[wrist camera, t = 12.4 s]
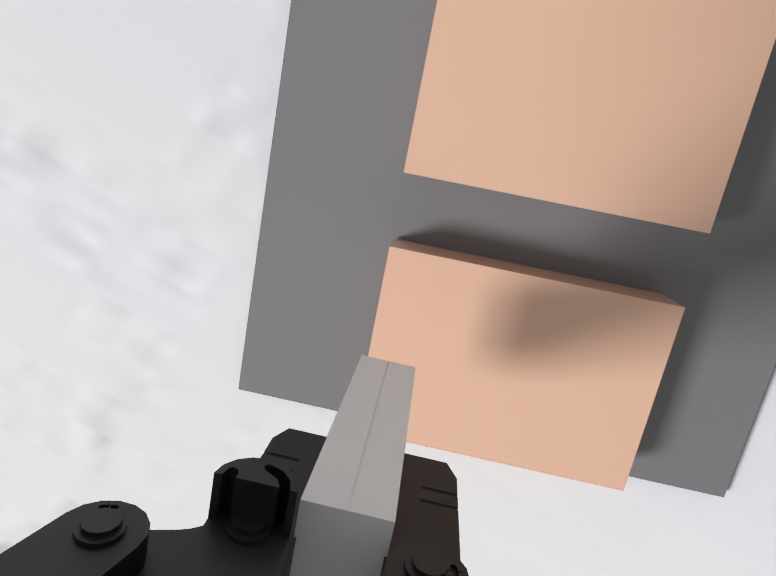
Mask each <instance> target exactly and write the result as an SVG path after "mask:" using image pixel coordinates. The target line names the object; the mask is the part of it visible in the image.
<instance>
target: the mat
mask: <svg viewBox="0 0 776 576" xmlns="http://www.w3.org/2000/svg"><path fill="white" fill-rule="evenodd" d="M436 4H437V0H291V7H290V15H289V22H288V29H287V37H286V44H285V51H284V59H283V66H282V73H281V81H280V88H279V95H278V103H277V110H276V117H275V125H274V132H273V139H272V147H271V154H270V161H269V169H268V176H267V183H266V191H265V198H264V205H263V213H262V220H261V228H260V235H259V242H258V250H257V257H256V264H255V272H254V279H253V286H252V294H251V301H250V308H249V316H248V323H247V330H246V338H245V345H244V352H243V360H242V367H241V374H240V382H239V389H241V390H246V391H250V392H254V393H259V394H263V395H268V396H272V397H277V398H281V399H286V400H290V401H295V402H299V403H304V404H308V405H313V406H317V407H322V408H326V409H331V410H335V411H338V410H339V408H340V405H341V403H342V401H343V398H344V396H345V393H346V391H347V389H348V386H349V384H350V382H351V379H352V377H353V375H354V372H355V370H356V368H357V365H358V363H359V361H360V358H361V356H362V355H364V356H368V354H369V349H370V344H371V338H372V333H373V328H374V323H375V318H376V313H377V308H378V303H379V298H380V292H381V287H382V282H383V277H384V272H385V267H386V262H387V257H388V251H389V246H390V245H391V243H392V242H393V240H394V238H395V239H400V240H404V241H409V242H414V243H419V244H424V245H429V246H434V247H438V248H443V249H448V250H453V251H458V252H463V253H468V254H472V255H477V256H482V257H487V258H492V259H497V260H501V261H506V262H511V263H516V264H521V265H526V266H531V267H535V268H540V269H545V270H550V271H555V272H560V273H565V274H569V275H574V276H579V277H584V278H589V279H594V280H598V281H603V282H608V283H613V284H618V285H623V286H628V287H632V288H637V289H642V290H647V291H652V292H657V293H662V294H663V295H665V296H667V297H668V298H670V299H672V300H673V301H675V302H677V303H678V304H680V305H682V306H683V307H685V310H684V313H683V316H682V319H681V322H680V325H679V328H678V331H677V334H676V337H675V340H674V342H673V345H672V348H671V351H670V354H669V357H668V360H667V363H666V366H665V369H664V372H663V375H662V378H661V381H660V384H659V387H658V390H657V393H656V396H655V399H654V402H653V405H652V408H651V411H650V414H649V417H648V420H647V423H646V425H645V428H644V431H643V434H642V437H641V440H640V443H639V446H638V449H637V452H636V455H635V458H634V461H633V464H632V467H631V470H630V473H629V476H631V477H635V478H640V479H644V480H649V481H653V482H658V483H662V484H667V485H671V486H676V487H680V488H685V489H689V490H694V491H698V492H703V493H707V494H711V495H716V496H720V497H724V496H725V493H726V491H727V488H728V485H729V483H730V480H731V478H732V475H733V473H734V470H735V467H736V465H737V462H738V460H739V457H740V455H741V452H742V449H743V447H744V444H745V442H746V439H747V437H748V434H749V432H750V429H751V426H752V424H753V421H754V419H755V416H756V414H757V411H758V408H759V406H760V403H761V401H762V398H763V396H764V393H765V390H766V388H767V385H768V383H769V380H770V378H771V375H772V372H773V370H774V367H775V365H776V39H775V42H774V45H773V48H772V51H771V54H770V57H769V60H768V63H767V66H766V69H765V72H764V75H763V78H762V81H761V84H760V87H759V90H758V93H757V96H756V98H755V101H754V104H753V107H752V110H751V113H750V116H749V119H748V122H747V125H746V128H745V131H744V134H743V137H742V140H741V143H740V146H739V149H738V152H737V155H736V158H735V161H734V164H733V167H732V170H731V173H730V176H729V179H728V182H727V184H726V187H725V190H724V193H723V196H722V199H721V202H720V205H719V208H718V211H717V214H716V217H715V220H714V223H713V226H712V229H711V232H710V234H709V233H704V232H699V231H694V230H689V229H684V228H679V227H674V226H669V225H664V224H659V223H654V222H649V221H644V220H639V219H634V218H629V217H624V216H619V215H614V214H609V213H604V212H599V211H594V210H589V209H584V208H579V207H574V206H569V205H564V204H559V203H554V202H549V201H544V200H539V199H534V198H529V197H524V196H519V195H514V194H509V193H504V192H499V191H494V190H489V189H484V188H479V187H474V186H469V185H464V184H459V183H454V182H449V181H444V180H439V179H434V178H429V177H424V176H419V175H414V174H409V173H404V168H405V163H406V158H407V153H408V148H409V142H410V137H411V132H412V127H413V122H414V117H415V112H416V107H417V101H418V96H419V91H420V86H421V81H422V76H423V71H424V66H425V60H426V55H427V50H428V45H429V40H430V35H431V30H432V25H433V19H434V14H435V9H436Z"/></svg>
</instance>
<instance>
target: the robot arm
mask: <svg viewBox="0 0 776 576" xmlns="http://www.w3.org/2000/svg"><path fill="white" fill-rule="evenodd" d="M415 369H416V367H413V366H408V365H404V364H399V363H395V362H390V361H386V360H381V359H377V358H372V357H368V356H364V355H362V356H361V358H360V361H359V363H358V365H357V368H356V370H355V372H354V375H353V377H352V379H351V382H350V384H349V386H348V389H347V391H346V393H345V396H344V398H343V401H342V403H341V405H340V408H339V410H338V412H337V415H336V417H335V419H334V422H333V424H332V426H331V429H330V431H329V433H328V436H327V437H324V436H320V435H316V434H311V433H307V432H303V431H298V430H294V429H290V428H289V429H287V430H286V431H284V432H282V433H280V434H279V435H277V436H275V437H273V439H272V440H271V442H270V443H269V445H268V447H267V448H266V450H265V452H264V454H263V455H262V456H261V458H246V459H237V460H234V461H232V462H229V463H226V464H224V465H223V466H221V467H220V468H219V469H218V470H217V471H216V472H214V479H213V486H212V493H211V501H210V508H209V515H208V519H207V521H206V522H205V524H204V525H203V526H200V527H196V528H192V529H182V530H150V522H149V519H148V517H147V514H146V513H145V512H144V511H143V510H141V509H140V508H138V507H137V506H136V505H133V504H129V503H126V502H122V501H99V502H94V503H89V504H85V505H82V506H80V507H77V508H75V509H73V510H71V511H69V512H67V513H65V514H63V515H62V516H60V517H59V518H57V519H55V520H54V521H52V522H51V523H49V524H47V525H46V526H44V527H43V528H41V529H39V530H38V531H36V532H35V533H33V534H31V535H30V536H28V537H27V538H25V539H23V540H22V541H20V542H19V543H17V544H15V545H14V546H12V547H11V548H9V549H7V550H6V551H4V552H3V553H1V554H0V576H469V575H468V572H467V569H466V567H465V566H464V565H463V564H462V562H461V561H460V543H459V521H458V511H457V510H458V498H457V478H456V477H455V475H454V474H453V472H452V471H451V469H450V468H449V466H448V464H447V463H444V462H440V461H435V460H431V459H427V458H423V457H418V456H414V455H410V454H405V453H404V452H405V445H406V437H407V429H408V422H409V414H410V407H411V399H412V392H413V384H414V377H415Z"/></svg>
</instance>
